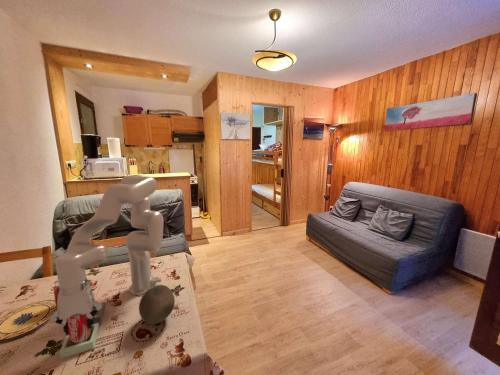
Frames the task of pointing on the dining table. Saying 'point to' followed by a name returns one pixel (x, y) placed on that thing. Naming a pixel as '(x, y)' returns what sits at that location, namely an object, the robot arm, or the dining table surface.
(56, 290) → the soda can
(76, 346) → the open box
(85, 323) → the soda can
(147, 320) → the cantaloupe
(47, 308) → the dining table surface
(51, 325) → the dining table surface
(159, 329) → the dining table surface
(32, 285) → the dining table surface
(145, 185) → the robot arm
